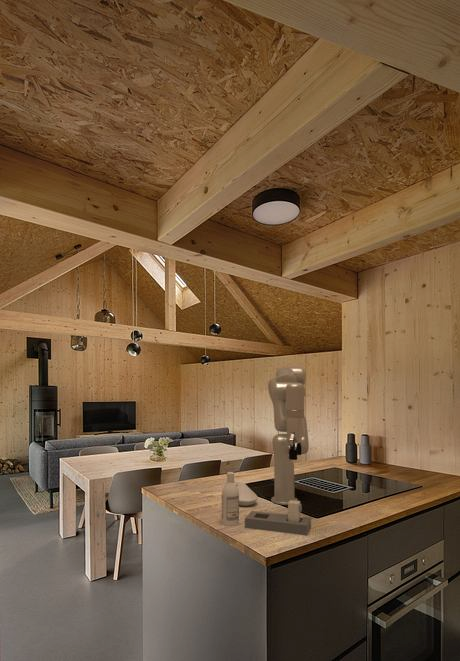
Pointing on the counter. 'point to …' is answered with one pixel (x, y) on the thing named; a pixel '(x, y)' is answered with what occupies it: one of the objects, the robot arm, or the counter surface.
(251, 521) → the socket block
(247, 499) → the spoon rest
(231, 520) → the bath foam
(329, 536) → the counter surface
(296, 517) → the plug
